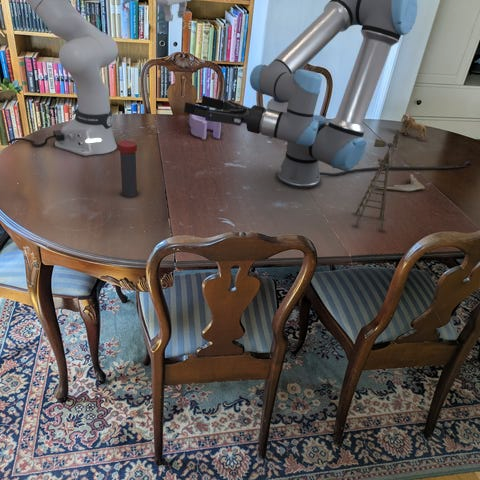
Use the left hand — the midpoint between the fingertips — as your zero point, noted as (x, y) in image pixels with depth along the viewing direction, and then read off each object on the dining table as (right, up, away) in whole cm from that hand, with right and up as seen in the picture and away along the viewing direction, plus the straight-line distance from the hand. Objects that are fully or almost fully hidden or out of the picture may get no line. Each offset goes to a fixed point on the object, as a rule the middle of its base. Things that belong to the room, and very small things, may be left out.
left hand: (175, 19), depth 144 cm
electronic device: (+37, -17, +69) cm, 80 cm away
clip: (+4, -21, +57) cm, 61 cm away
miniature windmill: (+60, -63, +2) cm, 87 cm away
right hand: (+7, -28, -8) cm, 30 cm away
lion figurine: (+101, -19, +76) cm, 128 cm away
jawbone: (+78, -48, +28) cm, 95 cm away
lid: (-13, -40, -6) cm, 42 cm away
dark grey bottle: (-15, -54, +3) cm, 56 cm away
